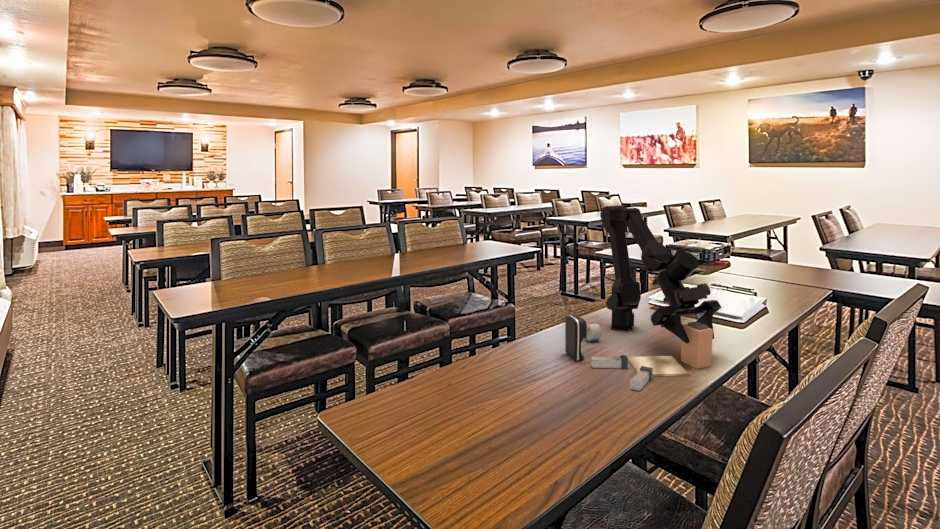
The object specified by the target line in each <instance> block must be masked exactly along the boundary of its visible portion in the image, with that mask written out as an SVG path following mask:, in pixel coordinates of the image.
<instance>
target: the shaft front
mask: <svg viewBox="0 0 940 529" xmlns="http://www.w3.org/2000/svg"><path fill="white" fill-rule="evenodd" d="M652 374H653V368H650V367H645V366H642V367H641V368H640V371H639V372H638V373H637V372H636V374H635V375H634V376H633V377H632V378H630V380H629V381H630V383H629V384H630V385H629V389H630V390H634V391H638V392H640V391H641V390H642V389H643V388H644V387H645V385H646V384H648V382H649V381H652V379H653V376H652Z"/></svg>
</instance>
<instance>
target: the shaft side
mask: <svg viewBox="0 0 940 529" xmlns="http://www.w3.org/2000/svg"><path fill="white" fill-rule="evenodd" d="M627 357H628V356H627V355H626V354H625V355H623V354H622V355H619V356H590V366H591V368H592V369H622V370H623V369H628V366H629V364H628V363H629V362H628V358H627Z"/></svg>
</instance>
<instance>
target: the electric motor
mask: <svg viewBox="0 0 940 529" xmlns="http://www.w3.org/2000/svg"><path fill="white" fill-rule="evenodd" d="M586 325H587V338H585V340H586V341H587V342H588V341H589V343H593V341H595V342H599V340H600V339H601V337H602V328H601V326H600V325H599V324H598V323H592V324H586Z"/></svg>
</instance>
